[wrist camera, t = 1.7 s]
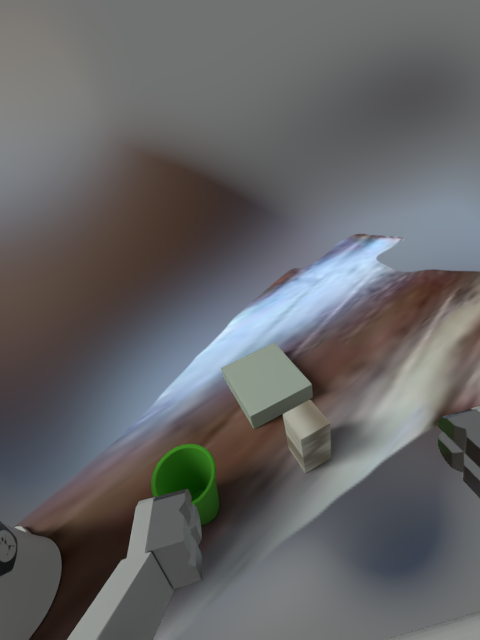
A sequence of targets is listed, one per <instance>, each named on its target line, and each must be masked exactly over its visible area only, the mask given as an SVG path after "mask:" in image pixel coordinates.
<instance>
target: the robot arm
mask: <svg viewBox="0 0 480 640" xmlns="http://www.w3.org/2000/svg"><path fill="white" fill-rule="evenodd" d="M438 427H439V428H440V429H441V430H442V431H443V432H442V433H441V434H440V436H439V437H438V446H439V449H440V452H441V454H442V456H443V457H444V459H445V461H446V462H447V463H448V464H449V465H450V466H451V467H452V468H453V469H455V470H457V471H460V472H462V473H463V481H464V482H465V483H466V484H467V485H468V486H469V487H470V488H471V489H472V490H473V492H475V494H476V495H477V496H478V497H479V498H480V406H479V407H475V408H472V409H467V410H464V411H461V412H457V413H454V414H450V415H447V416H444V417H441V418H440V420H439V425H438ZM191 501H192V496H191V494H190V492H189V490H188V489H185V490H181V491H177V492H173V493H169V494H165V495H161V496H157V497H153V498H149V499H146V500H142V501H139V502H138V504H137V506H136V510H135V516H134V521H133V526H132V532H131V537H130V543H129V548H128V553H127V558H126V559H123V560H121V561H120V563H119V564H118V566H117V567H116V569H115V570H114V572H113V573H112V575H111V576H110V578H109V579H108V580H107V582H106V583H105V585H104V586H103V588H102V589H101V591H100V592H99V594H98V595H97V597H96V598H95V599H94V601H93V602H92V604H91V605H90V607H89V608H88V610H87V611H86V613H85V614H84V615H83V617H82V618H81V620H80V621H79V623H78V624H77V626H76V627H75V629H74V630H73V632H72V633H71V634H70V636H69V637H68V639H67V640H153V638H154V636H155V634H156V631H157V629H158V627H159V625H160V622H161V620H162V618H163V615H164V613H165V611H166V608H167V606H168V604H169V602H170V599H171V597H172V595H173V590H174V589H177V588H180V587H184V586H187V585H190V584H193V583H196V582H199V581H202V554H201V552H200V550H199V547H198V545H199V543H200V542H201V540H202V534H201V523H200V517H199V514H198V510H197V508H196V506H195V505H193V504H191ZM61 569H62V561H61V555H60V551H59V549H58V547H57V545H56V544H55V543H54V542H53V541H52V540H51V539H49V538H46V537H43V536H37V535H33V534H31V533H30V532H29V531H28V530H27V529H26V528H24V527H21V526H17V527H15V528H14V527H12V526H9V525H6V524H3V523H2V522H0V640H29V638H30V637H31V636H32V634H33V633H34V632H35V630H36V629H37V628H38V626H39V625H40V623H41V622H42V620H43V619H44V617H45V615H46V614H47V612H48V610H49V608H50V606H51V604H52V602H53V600H54V597H55V595H56V592H57V589H58V586H59V582H60V577H61ZM386 640H480V611H479V612H476V613H472V614H469V615H466V616H462V617H459V618H456V619H452V620H449V621H446V622H442V623H439V624H436V625H432V626H429V627H426V628H422V629H419V630H415V631H412V632H409V633H406V634H402V635H399V636H395V637H393V638H389V639H386Z"/></svg>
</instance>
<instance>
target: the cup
mask: <svg viewBox="0 0 480 640" xmlns="http://www.w3.org/2000/svg"><path fill="white" fill-rule="evenodd" d="M215 474H216V466H215V461H214V458H213V456H212V455H211V453H210V452H209V451H208V450H207V449H205V448H204V447H202V446H199V445H197V444H185V445H181V446H178V447H175V448H174V449H172V450H171V451H169V452H168V453H167V454H166V455H164V456H163V457H162V459H161V460H160V461H159V463H158V464H157V466H156V468H155V470H154V473H153V476H152V482H151V489H152V494H153V497H157V496H161V495H165V494H169V493H173V492H177V491H181V490H185V489H188V490H189V492H190V494H191V496H192V501H191V504H193V505H195V506H196V508H197V510H198V514H199V517H200V523H201V525H205V524H207V523H209V522H211V521H212V520H213V519H214V518H215V517H216V515H217V513H218V510H219V505H220V502H219V496H218V490H217V484H216V479H215Z"/></svg>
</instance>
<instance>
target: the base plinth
mask: <svg viewBox="0 0 480 640" xmlns="http://www.w3.org/2000/svg"><path fill="white" fill-rule="evenodd" d="M221 369H222V372H223V375H224V378H225V381H226V383H227V384H228V386H229V388H230V390H231V391H232V393H233V395H234V396H235V398H236V400H237V401H238V403H239V405H240V406H241V408H242V410H243V412H244V413H245V415H246V417H247V418H248V420H249V422H250V423H251V425H252V427H253V428H254V429H256V428H257V427H259V426H261V425H263V424H265V423H267V422H269V421H270V420H272V419H274V418H276V417H278V416H280V415H282V414H283V413H285V412H287V411H289V410H291V409H293V408H295V407H296V406H298V405H300V404H302V403H304V402H306V401H308V400H309V399H311V398H313V392H312V384H311V383H310V382H309V380H308V379H307V378H306V377H305V376H304V375H303V374H302V373H301V372H300V370H299V369H298V368H297V367H296V366H295V365H294V364H293V363H292V362H291V360H290V359H289V358H288V357H287V356H286V355H285V354H284V353H283V352H282V350H281V349H280V348H279V347H278V346H277V345H276V344H275V343H273V344H271V345H269V346H267V347H264V348H262V349H260V350H258V351H256V352H254V353H252V354H250V355H248V356H246V357H244V358H241V359H239V360H237V361H235V362H233V363H231V364H229V365H227V366H225V367H223V368H221Z"/></svg>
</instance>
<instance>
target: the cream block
mask: <svg viewBox="0 0 480 640" xmlns="http://www.w3.org/2000/svg"><path fill="white" fill-rule="evenodd" d="M283 419H284V425H285V430H286V436H287V441H288V446H289V449H290V451H291V452H292V454H293V456H294V457H295V459H296V460H297V462H298V463H299V465H300V466H301V468H302V469H303V471H304V472H305V474H306V473H307V472H309V471H311V470H312V469H314V468H316V467H317V466H319V465H321V464H322V463H324V462H326V461H327V460H329V459H331V434H330V422H329V421H328V420H327V419H326V418H325V417H324V415H323V414H322V413H321V412H320V411H319V409H318V408H317V407H316V406H315V405H314V404H313V402H312V401H311V400H308V401H306V402H304V403H302V404H301V405H299V406H297V407H295V408H293V409H291V410H289V411H288V412H286V413H284V414H283Z"/></svg>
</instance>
